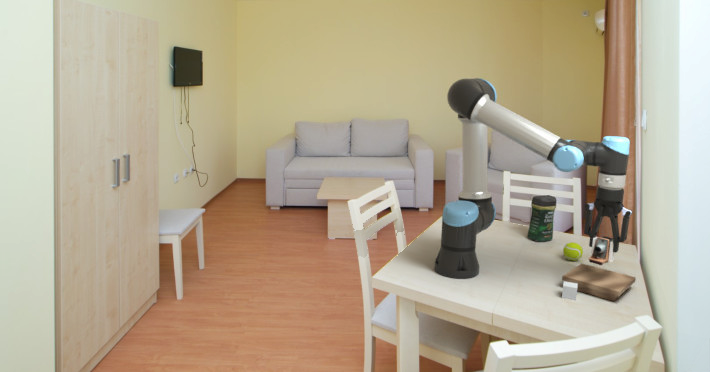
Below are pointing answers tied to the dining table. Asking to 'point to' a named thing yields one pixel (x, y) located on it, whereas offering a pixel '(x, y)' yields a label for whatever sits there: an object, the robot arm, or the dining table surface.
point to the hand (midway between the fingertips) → (602, 259)
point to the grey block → (569, 290)
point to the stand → (599, 281)
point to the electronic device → (601, 250)
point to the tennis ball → (573, 251)
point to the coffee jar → (542, 218)
